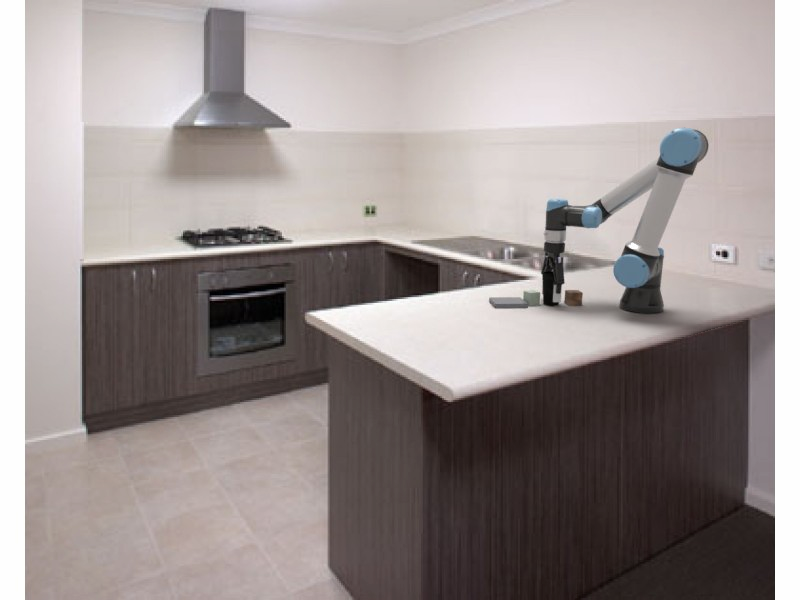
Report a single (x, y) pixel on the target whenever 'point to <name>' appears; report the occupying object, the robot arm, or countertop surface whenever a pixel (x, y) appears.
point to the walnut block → (573, 297)
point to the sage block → (532, 297)
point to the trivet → (508, 302)
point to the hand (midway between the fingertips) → (550, 298)
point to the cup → (548, 288)
